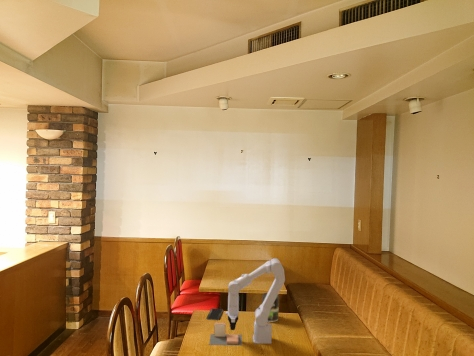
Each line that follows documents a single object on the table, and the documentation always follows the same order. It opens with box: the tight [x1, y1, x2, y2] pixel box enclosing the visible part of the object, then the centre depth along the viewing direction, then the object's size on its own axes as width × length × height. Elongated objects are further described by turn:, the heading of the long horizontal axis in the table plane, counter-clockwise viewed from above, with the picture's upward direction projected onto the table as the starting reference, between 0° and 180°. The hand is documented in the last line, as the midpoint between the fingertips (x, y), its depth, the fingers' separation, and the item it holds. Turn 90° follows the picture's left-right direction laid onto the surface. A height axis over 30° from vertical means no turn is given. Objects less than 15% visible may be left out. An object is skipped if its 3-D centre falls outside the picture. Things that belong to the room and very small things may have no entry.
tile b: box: [213, 322, 227, 337], centre depth 180 cm, size 6×1×7 cm, turn 91°
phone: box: [206, 308, 224, 321], centre depth 207 cm, size 8×1×15 cm
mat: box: [208, 333, 243, 346], centre depth 177 cm, size 17×11×1 cm, turn 91°
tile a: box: [226, 333, 239, 344], centre depth 176 cm, size 6×1×7 cm
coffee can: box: [261, 292, 280, 323], centre depth 204 cm, size 10×10×14 cm
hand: (232, 329), depth 178 cm, fingers closed
